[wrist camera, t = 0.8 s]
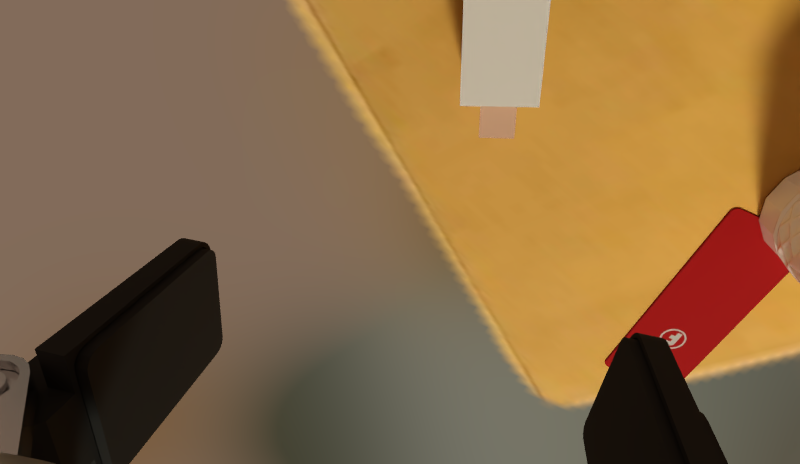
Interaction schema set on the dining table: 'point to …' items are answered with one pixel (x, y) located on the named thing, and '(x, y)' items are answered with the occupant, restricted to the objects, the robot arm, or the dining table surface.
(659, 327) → the electronic device
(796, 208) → the white cup
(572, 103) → the dining table surface
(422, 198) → the dining table surface
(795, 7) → the dining table surface
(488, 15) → the block
